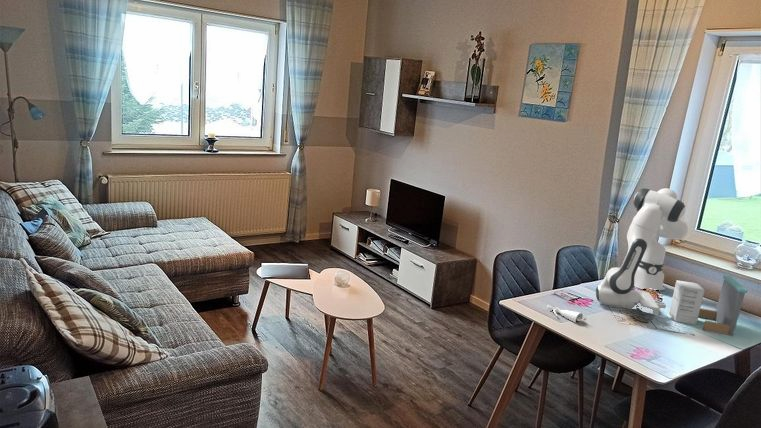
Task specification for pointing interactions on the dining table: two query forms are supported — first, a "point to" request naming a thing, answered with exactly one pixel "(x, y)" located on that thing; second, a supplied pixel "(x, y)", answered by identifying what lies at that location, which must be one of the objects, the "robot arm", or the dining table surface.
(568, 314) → the woman figurine
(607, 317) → the dining table surface
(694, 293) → the supplement box
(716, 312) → the display stand
